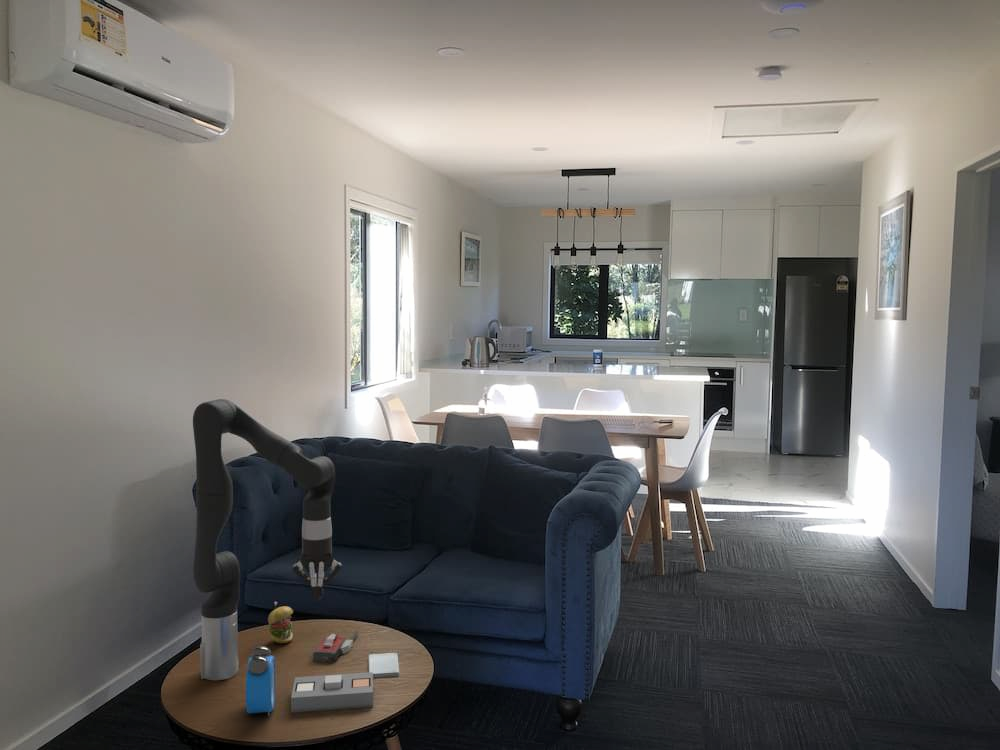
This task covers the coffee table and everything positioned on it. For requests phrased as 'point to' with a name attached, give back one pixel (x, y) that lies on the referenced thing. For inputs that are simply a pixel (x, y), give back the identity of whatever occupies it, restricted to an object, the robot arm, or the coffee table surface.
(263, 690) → the alarm clock
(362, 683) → the key far terracotta
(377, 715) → the coffee table surface
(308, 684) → the key near ivory
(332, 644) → the walkie-talkie
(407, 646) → the coffee table surface
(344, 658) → the coffee table surface
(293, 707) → the keypad
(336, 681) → the key mid grey
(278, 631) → the hamburger
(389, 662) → the hard drive
